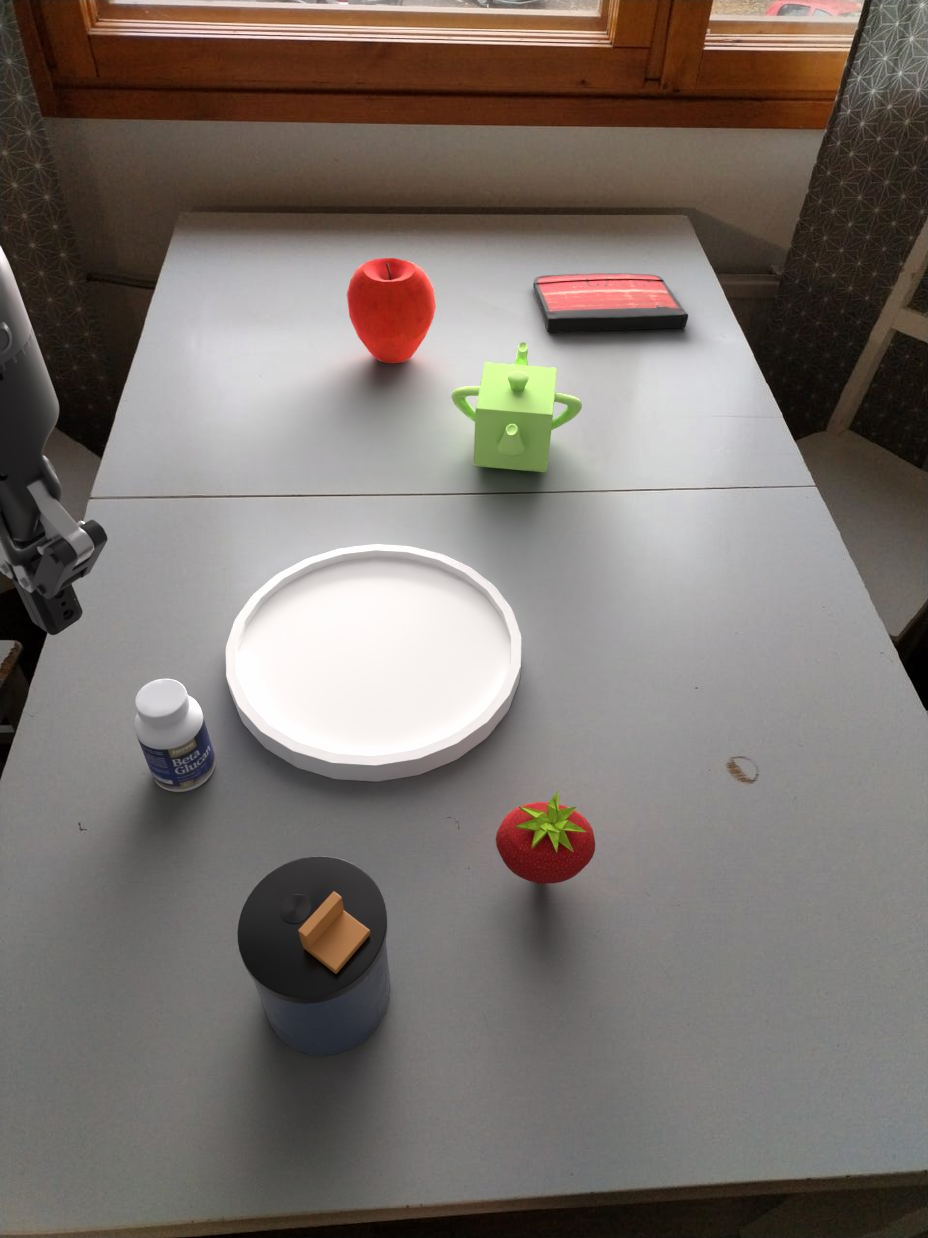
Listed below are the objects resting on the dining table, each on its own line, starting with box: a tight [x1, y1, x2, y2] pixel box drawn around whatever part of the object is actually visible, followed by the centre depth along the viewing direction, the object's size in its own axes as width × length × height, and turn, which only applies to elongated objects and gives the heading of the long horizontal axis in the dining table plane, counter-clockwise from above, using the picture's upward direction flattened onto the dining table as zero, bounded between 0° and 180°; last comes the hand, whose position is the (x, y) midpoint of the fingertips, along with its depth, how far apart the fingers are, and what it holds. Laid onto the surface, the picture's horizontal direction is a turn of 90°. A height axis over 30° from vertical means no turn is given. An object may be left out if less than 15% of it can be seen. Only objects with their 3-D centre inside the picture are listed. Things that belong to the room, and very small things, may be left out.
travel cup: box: [236, 855, 391, 1057], centre depth 60 cm, size 9×9×11 cm
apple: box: [346, 257, 437, 364], centre depth 121 cm, size 12×12×13 cm
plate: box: [225, 543, 522, 783], centre depth 85 cm, size 28×28×2 cm
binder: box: [532, 272, 689, 333], centre depth 136 cm, size 16×2×21 cm
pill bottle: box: [133, 678, 217, 793], centre depth 74 cm, size 5×5×10 cm
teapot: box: [451, 341, 583, 473], centre depth 107 cm, size 15×13×11 cm
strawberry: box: [495, 789, 596, 885], centre depth 67 cm, size 6×8×10 cm
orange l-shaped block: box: [298, 892, 370, 974], centre depth 55 cm, size 3×3×2 cm
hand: (60, 621), depth 49 cm, fingers closed
